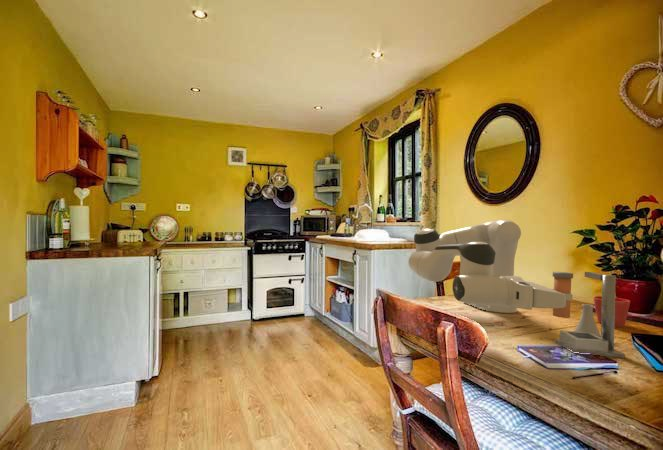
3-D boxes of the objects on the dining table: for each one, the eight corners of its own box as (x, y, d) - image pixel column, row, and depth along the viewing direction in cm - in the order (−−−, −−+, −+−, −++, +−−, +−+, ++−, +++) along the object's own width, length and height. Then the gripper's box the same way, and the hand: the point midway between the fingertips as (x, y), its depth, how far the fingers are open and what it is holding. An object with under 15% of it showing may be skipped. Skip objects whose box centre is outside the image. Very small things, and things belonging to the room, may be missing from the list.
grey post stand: (573, 354, 96) (576, 276, 96) (547, 337, 110) (549, 269, 111) (625, 357, 94) (627, 278, 94) (591, 340, 109) (593, 271, 109)
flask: (605, 339, 110) (606, 308, 110) (580, 337, 112) (581, 306, 112) (593, 332, 117) (594, 303, 117) (569, 330, 119) (570, 302, 119)
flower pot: (586, 319, 135) (587, 294, 136) (618, 321, 133) (619, 296, 133) (602, 326, 125) (603, 300, 125) (636, 329, 123) (637, 302, 123)
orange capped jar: (547, 314, 97) (548, 271, 97) (558, 313, 99) (560, 271, 99) (564, 318, 92) (565, 274, 92) (575, 317, 94) (577, 273, 94)
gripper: (500, 295, 108) (546, 298, 106) (528, 311, 87) (587, 315, 86) (500, 275, 108) (547, 278, 106) (529, 286, 87) (588, 290, 86)
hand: (565, 294), depth 95 cm, fingers closed on orange capped jar, 4 cm apart
